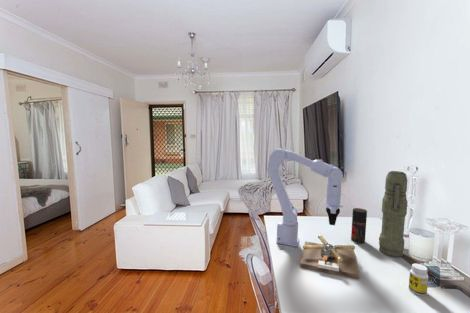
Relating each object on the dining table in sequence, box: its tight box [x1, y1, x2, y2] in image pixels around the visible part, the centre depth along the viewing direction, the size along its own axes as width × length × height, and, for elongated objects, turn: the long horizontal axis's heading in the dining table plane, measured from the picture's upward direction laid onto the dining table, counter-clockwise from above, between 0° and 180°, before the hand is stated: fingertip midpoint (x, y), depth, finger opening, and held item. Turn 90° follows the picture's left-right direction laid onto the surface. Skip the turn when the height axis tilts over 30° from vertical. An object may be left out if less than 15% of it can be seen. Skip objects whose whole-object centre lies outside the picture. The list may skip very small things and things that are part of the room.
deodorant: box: [350, 207, 368, 244], centre depth 114 cm, size 6×6×15 cm
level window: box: [318, 260, 339, 272], centre depth 88 cm, size 7×3×2 cm, turn 69°
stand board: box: [299, 241, 360, 280], centre depth 97 cm, size 20×20×2 cm
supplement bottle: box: [408, 263, 429, 297], centre depth 78 cm, size 5×5×8 cm
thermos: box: [378, 170, 409, 258], centre depth 102 cm, size 9×12×35 cm
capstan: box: [302, 234, 356, 264], centre depth 97 cm, size 21×21×4 cm
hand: (332, 224), depth 107 cm, fingers closed
